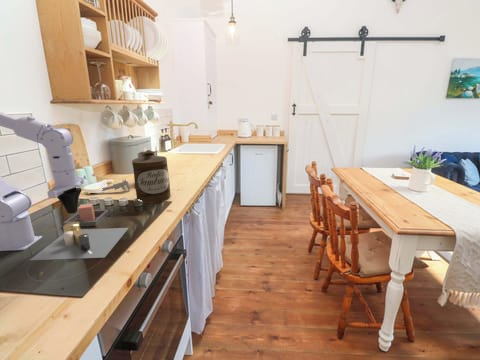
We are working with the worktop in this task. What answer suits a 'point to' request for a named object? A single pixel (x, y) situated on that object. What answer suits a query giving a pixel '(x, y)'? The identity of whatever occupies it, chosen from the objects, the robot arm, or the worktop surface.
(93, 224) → the tray
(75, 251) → the board
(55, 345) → the worktop surface
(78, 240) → the crank
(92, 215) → the block
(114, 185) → the caliper
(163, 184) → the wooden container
